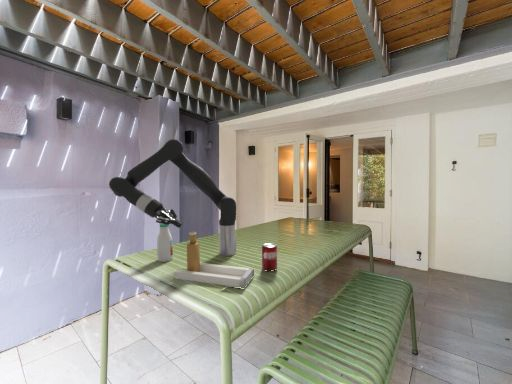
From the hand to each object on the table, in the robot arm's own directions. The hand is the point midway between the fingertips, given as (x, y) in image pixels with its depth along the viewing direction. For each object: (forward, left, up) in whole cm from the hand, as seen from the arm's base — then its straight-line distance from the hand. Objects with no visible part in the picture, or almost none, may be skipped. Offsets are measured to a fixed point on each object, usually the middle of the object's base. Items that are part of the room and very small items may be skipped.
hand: (180, 225), depth 110 cm
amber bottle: (-1, +7, -22) cm, 23 cm away
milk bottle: (-8, -23, -23) cm, 33 cm away
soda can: (-25, +32, -23) cm, 47 cm away
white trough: (-3, +17, -22) cm, 28 cm away
